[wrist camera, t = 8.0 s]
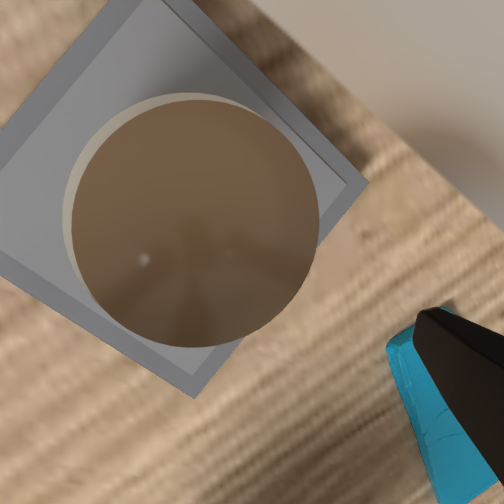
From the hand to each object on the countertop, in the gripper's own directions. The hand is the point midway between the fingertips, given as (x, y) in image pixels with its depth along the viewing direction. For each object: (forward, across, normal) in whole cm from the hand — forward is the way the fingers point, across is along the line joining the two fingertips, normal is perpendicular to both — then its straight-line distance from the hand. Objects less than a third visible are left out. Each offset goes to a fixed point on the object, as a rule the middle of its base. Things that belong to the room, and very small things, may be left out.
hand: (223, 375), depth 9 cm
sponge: (+6, -14, +14) cm, 21 cm away
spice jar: (+10, 0, 0) cm, 10 cm away
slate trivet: (+11, -1, +1) cm, 11 cm away
